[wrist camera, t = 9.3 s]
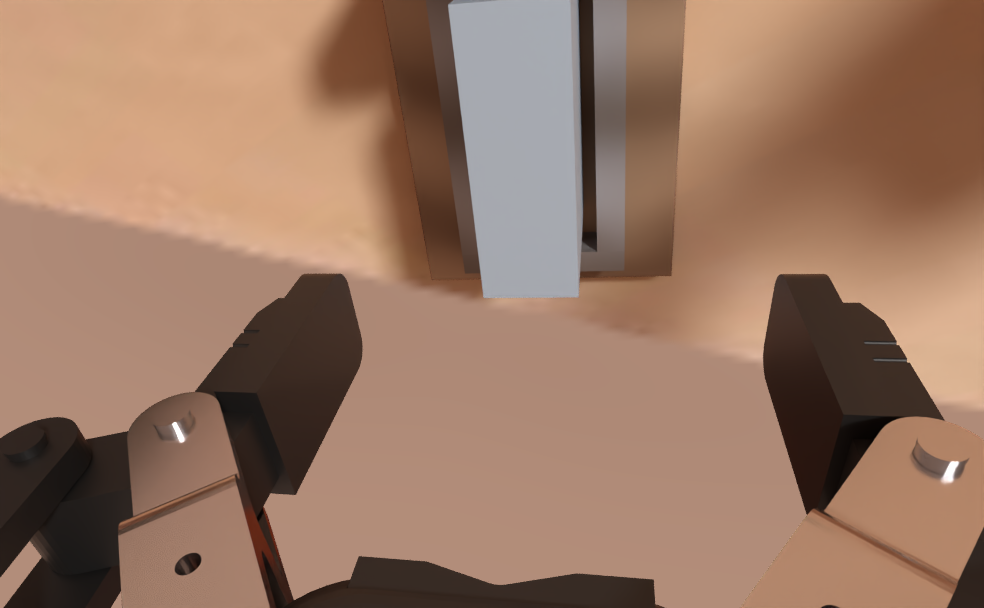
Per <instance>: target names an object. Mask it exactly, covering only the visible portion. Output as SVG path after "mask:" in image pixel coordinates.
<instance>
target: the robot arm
mask: <svg viewBox="0 0 984 608" xmlns="http://www.w3.org/2000/svg"><path fill="white" fill-rule="evenodd" d="M896 342H897V341H896V340H895V338H894V336H893V335H892V333H891V331H890V330H889V328H888V326H887V325H886V323H885V321H884V320H882V319H881V318H880V317H878V316H877V315H876V314H874V313H873V312H872V311H870V310H869V309H867V308H866V307H865V306H863V305H862V304H861V303H843V302H842V300H841V298H840V297H839V295H838V293H837V291H836V289H835V287H834V285H833V284H832V282H831V280H830V278H829V277H828V276H827V275H826V274H780V275H779V276H778V277H777V280H776V283H775V287H774V292H773V298H772V303H771V309H770V315H769V320H768V326H767V332H766V338H765V343H764V352H763V366H764V375H765V380H766V383H767V386H768V390H769V393H770V396H771V399H772V403H773V406H774V409H775V412H776V416H777V419H778V422H779V425H780V429H781V432H782V435H783V438H784V442H785V445H786V448H787V452H788V455H789V458H790V462H791V465H792V468H793V471H794V474H795V477H796V481H797V484H798V488H799V491H800V494H801V497H802V501H803V504H804V507H805V510H806V514H807V516H806V517H805V519H804V520H803V521H802V523H801V524H800V525H799V527H798V528H797V530H796V531H795V532H794V534H793V535H792V536H791V538H790V539H789V541H788V542H787V543H786V545H785V546H784V547H783V549H782V550H781V552H780V553H779V554H778V556H777V557H776V558H775V560H774V561H773V563H772V564H771V565H770V567H769V568H768V570H767V571H766V572H765V574H764V575H763V576H762V578H761V579H760V581H759V582H758V583H757V585H756V586H755V587H754V589H753V590H752V592H751V593H750V594H749V596H748V597H747V598H746V600H745V601H744V603H743V604H742V605H741V607H740V608H984V440H983V439H982V438H980V437H979V436H978V435H976V434H974V433H972V432H971V431H969V430H967V429H965V428H962V427H960V426H958V425H955V424H953V423H950V422H947V421H945V420H944V419H943V417H942V415H941V414H940V412H939V410H938V409H937V407H936V405H935V404H934V402H933V400H932V399H931V397H930V395H929V394H928V392H927V390H926V389H925V387H924V386H923V384H922V382H921V381H920V379H919V377H918V376H917V374H916V372H915V371H914V369H913V367H912V366H911V364H910V363H907V358H906V356H905V354H904V353H903V351H902V349H901V348H900V346H899V345H896ZM361 359H362V338H361V334H360V329H359V326H358V321H357V318H356V314H355V310H354V306H353V302H352V298H351V294H350V290H349V286H348V282H347V280H346V278H345V277H344V276H343V275H342V274H303V275H302V276H301V277H300V278H299V279H298V281H297V282H296V283H295V284H294V286H293V287H292V289H291V290H290V291H289V293H288V294H287V295H286V296H285V298H278V299H277V300H275V301H274V302H272V303H271V304H270V305H268V306H267V307H265V308H264V309H262V310H261V311H259V312H258V313H257V314H256V315H255V316H254V318H253V319H252V320H251V321H250V323H249V324H248V325H247V326H246V328H245V329H244V333H241V334H240V335H239V337H238V338H237V339H236V340H235V342H234V343H233V347H230V348H229V349H228V351H227V352H226V353H225V354H224V355H223V357H222V358H221V359H220V361H219V362H218V363H217V364H216V366H215V367H214V368H213V369H212V371H211V372H210V373H209V374H208V376H207V377H206V378H205V380H204V381H203V382H202V383H201V385H200V386H199V387H198V389H197V390H196V391H195V392H189V393H183V394H179V395H175V396H172V397H169V398H166V399H164V400H162V401H160V402H158V403H156V404H154V405H153V406H151V407H149V408H148V409H147V410H145V411H144V412H143V413H142V414H141V415H140V416H139V417H138V418H136V420H135V421H134V422H133V424H132V425H131V427H130V429H129V431H127V432H122V433H117V434H112V435H107V436H102V437H97V438H92V439H86V440H85V438H84V437H83V435H82V433H81V432H80V430H79V428H78V427H77V425H76V424H75V423H74V422H73V421H72V420H70V419H67V418H61V417H54V418H46V419H41V420H38V421H34V422H32V423H29V424H26V425H23V426H21V427H19V428H17V429H15V430H13V431H11V432H9V433H8V434H6V435H5V436H3V437H2V438H0V577H1V576H2V575H3V573H4V572H5V571H6V570H7V568H8V567H9V566H10V564H11V563H12V562H13V561H14V559H15V558H16V557H17V556H18V554H19V553H20V552H21V551H22V549H23V548H24V547H25V546H26V544H27V543H28V542H29V541H30V542H31V543H32V544H33V546H34V547H35V548H36V550H37V551H38V552H39V553H40V555H41V556H42V558H41V559H40V560H39V562H38V563H37V564H36V566H35V567H34V568H33V570H32V571H31V572H30V574H29V575H28V576H27V578H26V579H25V580H24V582H23V583H22V584H21V585H20V587H19V588H18V589H17V591H16V592H15V594H14V595H13V596H12V597H11V599H10V600H9V601H8V603H7V604H6V605H5V607H4V608H111V606H112V605H113V603H114V601H115V600H116V598H117V596H118V595H119V593H120V592H121V595H122V608H664V607H662V606H659V605H656V604H655V595H654V580H652V579H639V578H627V577H614V576H601V575H588V574H571V575H564V576H558V577H552V578H545V579H539V580H533V581H526V582H520V583H514V584H507V585H494V584H490V583H487V582H484V581H481V580H478V579H476V578H473V577H470V576H467V575H464V574H461V573H458V572H455V571H452V570H449V569H447V568H444V567H441V566H438V565H435V564H432V563H429V562H425V561H411V560H399V559H386V558H374V557H362V556H359V558H358V560H357V563H356V566H355V568H354V571H353V574H352V577H351V579H350V580H346V581H341V582H338V583H334V584H331V585H327V586H325V587H322V588H319V589H317V590H314V591H312V592H309V593H307V594H306V595H304V596H302V597H300V598H298V599H296V600H294V599H293V596H292V593H291V590H290V587H289V584H288V581H287V578H286V574H285V571H284V568H283V564H282V561H281V558H280V555H279V552H278V548H277V545H276V542H275V538H274V535H273V532H272V529H271V525H270V522H269V519H268V516H267V514H266V511H265V509H264V507H263V506H264V504H265V502H266V500H267V498H268V497H269V495H270V493H275V494H290V495H296V493H297V491H298V489H299V487H300V485H301V483H302V481H303V479H304V477H305V475H306V473H307V471H308V469H309V467H310V465H311V463H312V461H313V459H314V457H315V455H316V453H317V451H318V449H319V447H320V445H321V443H322V441H323V439H324V437H325V435H326V433H327V431H328V429H329V427H330V425H331V423H332V421H333V419H334V417H335V415H336V413H337V411H338V409H339V407H340V405H341V403H342V401H343V399H344V397H345V395H346V393H347V391H348V389H349V387H350V385H351V383H352V381H353V379H354V377H355V375H356V373H357V371H358V369H359V367H360V363H361Z"/></svg>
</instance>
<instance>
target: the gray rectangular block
mask: <svg viewBox="0 0 984 608" xmlns="http://www.w3.org/2000/svg"><path fill="white" fill-rule="evenodd" d="M448 9H449V17H450V26H451V34H452V42H453V50H454V58H455V67H456V75H457V83H458V91H459V100H460V108H461V116H462V124H463V132H464V141H465V149H466V157H467V165H468V174H469V182H470V190H471V198H472V206H473V215H474V223H475V231H476V239H477V248H478V256H479V264H480V272H481V281H482V289H483V297H484V298H555V297H579V283H580V264H581V245H582V226H583V207H584V202H583V155H582V109H581V62H580V15H579V0H453V1H452V2H451V3H449V4H448Z"/></svg>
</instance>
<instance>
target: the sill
mask: <svg viewBox="0 0 984 608" xmlns="http://www.w3.org/2000/svg"><path fill="white" fill-rule="evenodd" d="M452 1H453V0H383V6H384V11H385V17H386V23H387V28H388V34H389V40H390V45H391V51H392V57H393V62H394V68H395V74H396V79H397V85H398V91H399V96H400V102H401V108H402V113H403V119H404V125H405V130H406V136H407V142H408V147H409V153H410V159H411V164H412V170H413V176H414V181H415V187H416V193H417V198H418V204H419V210H420V215H421V221H422V227H423V232H424V238H425V244H426V249H427V255H428V261H429V266H430V272H431V278H432V280H460V279H481V272H480V264H479V256H478V248H477V239H476V231H475V223H474V215H473V206H472V198H471V190H470V182H469V174H468V165H467V157H466V149H465V141H464V132H463V124H462V116H461V108H460V100H459V91H458V83H457V75H456V67H455V58H454V50H453V42H452V34H451V26H450V17H449V9H448V4H449V3H451V2H452ZM685 10H686V0H579V15H580V62H581V109H582V155H583V202H584V207H583V226H582V245H581V264H580V277H638V276H671V270H672V251H673V233H674V214H675V196H676V177H677V159H678V140H679V121H680V103H681V84H682V66H683V47H684V29H685Z"/></svg>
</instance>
